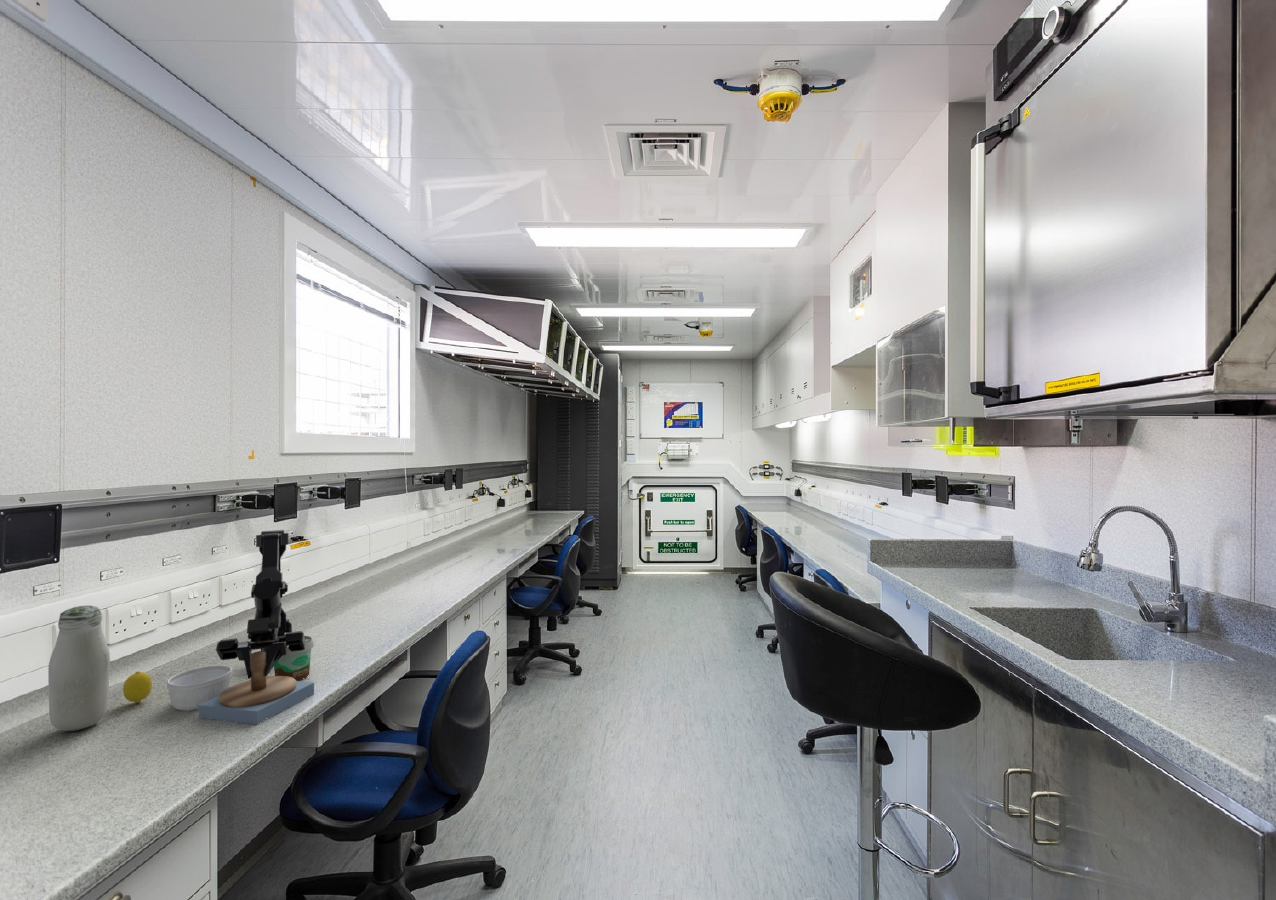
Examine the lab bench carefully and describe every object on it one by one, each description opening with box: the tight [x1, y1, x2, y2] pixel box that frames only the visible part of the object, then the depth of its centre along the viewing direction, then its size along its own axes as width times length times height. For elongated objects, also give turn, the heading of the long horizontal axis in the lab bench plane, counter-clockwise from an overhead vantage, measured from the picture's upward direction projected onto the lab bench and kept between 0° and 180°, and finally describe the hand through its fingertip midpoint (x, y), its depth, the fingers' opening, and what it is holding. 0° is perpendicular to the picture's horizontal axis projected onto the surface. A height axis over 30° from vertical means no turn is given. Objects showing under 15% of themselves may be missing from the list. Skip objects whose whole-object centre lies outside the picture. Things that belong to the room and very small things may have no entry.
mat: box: [198, 680, 315, 725], centre depth 143 cm, size 17×17×3 cm
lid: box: [219, 650, 296, 708], centre depth 143 cm, size 16×16×10 cm
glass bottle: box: [47, 605, 111, 732], centre depth 132 cm, size 10×10×28 cm
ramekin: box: [166, 664, 233, 711], centre depth 146 cm, size 13×13×7 cm
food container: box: [273, 635, 315, 681], centre depth 160 cm, size 12×6×10 cm, turn 168°
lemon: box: [122, 670, 153, 704], centre depth 145 cm, size 6×6×8 cm
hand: (257, 676), depth 142 cm, fingers closed on lid, 3 cm apart
